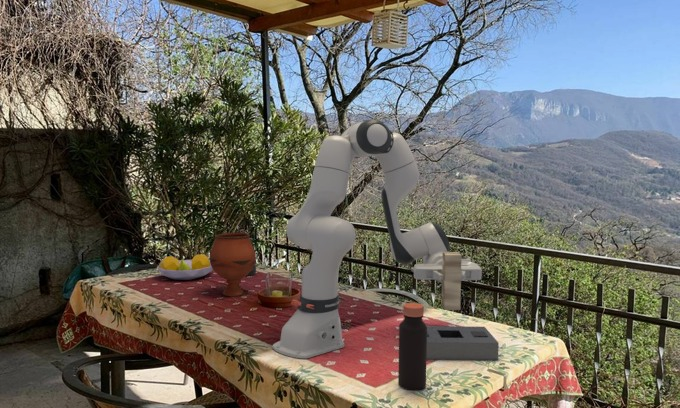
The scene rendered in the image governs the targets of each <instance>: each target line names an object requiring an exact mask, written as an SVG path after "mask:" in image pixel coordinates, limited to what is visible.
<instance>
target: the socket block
mask: <svg viewBox="0 0 680 408" xmlns="http://www.w3.org/2000/svg"><path fill="white" fill-rule="evenodd" d="M426 326H427V355H426V361H427V360H428V361H429V360H434V361H440V360H441V361H442V360H443V361H449V360H450V361H499V341H497V339H496V338H495V337H494V336H493V335H492V334H491V332H490V331H489V330H488V329H487V328H486V326H464V325H462V326H457V325H456V326H455V325H453V326H452V325H451V326H448V325H447V326H446V325H445V326H442V325H441V326H440V325H437V326H435V325H426Z"/></svg>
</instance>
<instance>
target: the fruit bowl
mask: <svg viewBox="0 0 680 408" xmlns="http://www.w3.org/2000/svg"><path fill="white" fill-rule="evenodd" d="M156 269H157V270H158V271H159V273H160V274H161V275H162V276H164V277H167V278H168V279H172V280H179V281H180V280H181V281H182V280H184V281H191V280H195V279H197V278H201V277H203V276H206V275H208V274H210V272H213V271H214V270H213V268H212V267H211V264H210V258H208V256H207V255H206V254H204V253H203V254H201V253H200V254H195V255H194V256H193V258H192V259H180V260H179V259H178V258H176V257H175V256H173V255H169V256H165V257H164V258H162V259H161V260H160V263H159V265H157V266H156Z"/></svg>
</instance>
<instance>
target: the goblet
mask: <svg viewBox="0 0 680 408" xmlns="http://www.w3.org/2000/svg"><path fill="white" fill-rule="evenodd" d="M214 237H215V238H214V241H213V244H212V246H211V250H210V253H209V261H210V264H211V267H212V268H213V271H214V272H215V273H216V274H217V276H219V277H220V278H223V279H224V280H226V284H227V286H226V287H225V288H224V289H223V292H222V295H224V296H225V297H227V296H228V297H236V296H237V297H238V296H241V295H243V294H244V289H243V288H242V287H241V286H240V283H242V279H244V278H246V277H245V276H246V275H248V274H249V272H250V271H251V270H252V269H253V267H254V265H255V262H256V263H257V256H256V252H255V248H254V246H253V244H252V241H251V239H250V238H251V235H250V234H249V233H245V232H226V233H219V234H217V235H215V236H214Z"/></svg>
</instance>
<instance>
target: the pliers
mask: <svg viewBox="0 0 680 408" xmlns="http://www.w3.org/2000/svg"><path fill="white" fill-rule="evenodd" d="M339 294H340V293H339V291H338V295H339ZM342 301H344V302H348V299H347V298H345V297H343V296H341V295H339V303H342Z"/></svg>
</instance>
